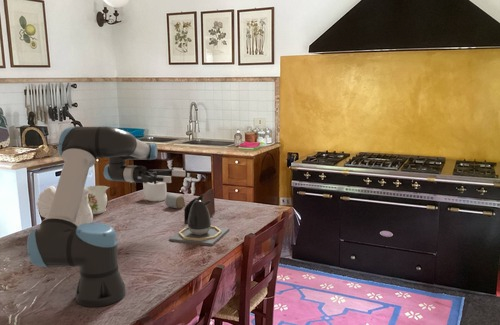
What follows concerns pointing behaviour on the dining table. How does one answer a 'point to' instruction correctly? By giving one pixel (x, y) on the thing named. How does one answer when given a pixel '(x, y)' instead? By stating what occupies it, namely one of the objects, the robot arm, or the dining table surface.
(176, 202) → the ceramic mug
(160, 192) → the toilet tissue
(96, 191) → the pitcher
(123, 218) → the dining table surface
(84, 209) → the decorative rooster
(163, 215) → the dining table surface
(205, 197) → the letter holder
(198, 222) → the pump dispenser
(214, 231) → the dock plate
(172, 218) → the dining table surface
